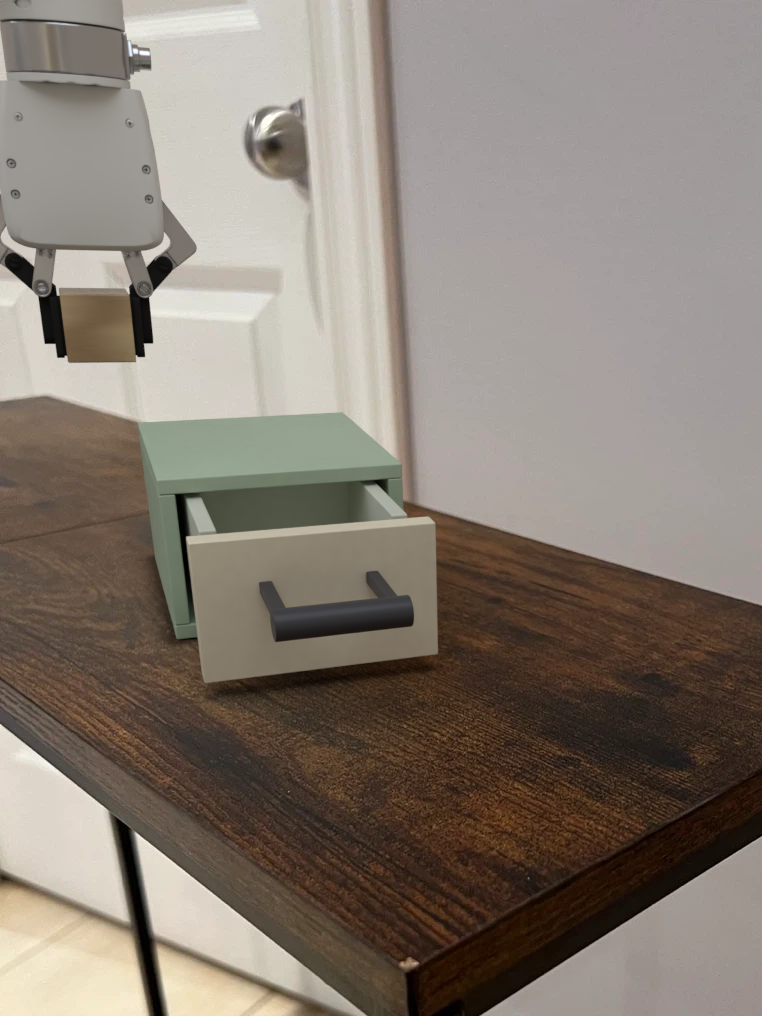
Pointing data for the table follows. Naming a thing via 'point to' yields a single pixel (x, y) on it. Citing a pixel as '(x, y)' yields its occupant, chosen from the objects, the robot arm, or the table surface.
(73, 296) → the block
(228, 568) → the drawer
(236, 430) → the cabinet
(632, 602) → the table surface
